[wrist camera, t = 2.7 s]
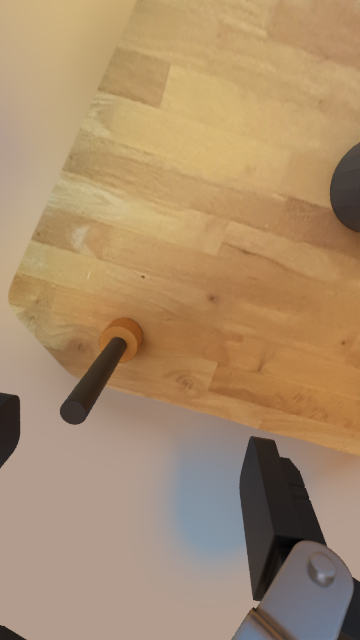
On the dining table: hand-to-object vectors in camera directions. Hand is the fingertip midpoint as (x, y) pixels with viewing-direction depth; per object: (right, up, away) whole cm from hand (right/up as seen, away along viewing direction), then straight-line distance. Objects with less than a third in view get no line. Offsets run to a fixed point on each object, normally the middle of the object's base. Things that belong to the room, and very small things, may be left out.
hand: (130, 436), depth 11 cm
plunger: (-6, +2, +32) cm, 33 cm away
